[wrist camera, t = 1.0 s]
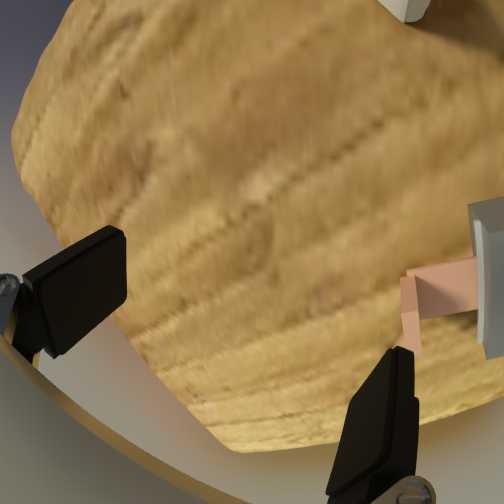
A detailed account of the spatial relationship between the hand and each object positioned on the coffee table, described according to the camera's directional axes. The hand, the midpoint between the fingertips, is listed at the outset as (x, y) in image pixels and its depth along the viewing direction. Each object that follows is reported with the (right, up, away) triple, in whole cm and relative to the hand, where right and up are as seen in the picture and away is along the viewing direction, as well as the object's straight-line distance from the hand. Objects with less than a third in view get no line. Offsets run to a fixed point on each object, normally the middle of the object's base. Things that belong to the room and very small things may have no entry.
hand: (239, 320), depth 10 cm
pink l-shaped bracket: (+24, -1, +16) cm, 28 cm away
